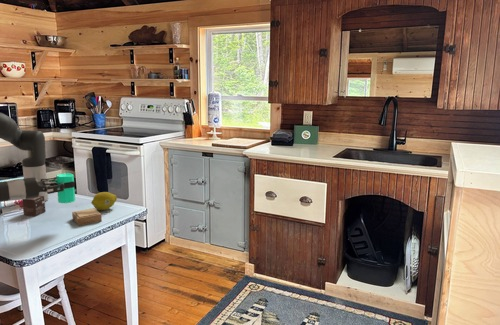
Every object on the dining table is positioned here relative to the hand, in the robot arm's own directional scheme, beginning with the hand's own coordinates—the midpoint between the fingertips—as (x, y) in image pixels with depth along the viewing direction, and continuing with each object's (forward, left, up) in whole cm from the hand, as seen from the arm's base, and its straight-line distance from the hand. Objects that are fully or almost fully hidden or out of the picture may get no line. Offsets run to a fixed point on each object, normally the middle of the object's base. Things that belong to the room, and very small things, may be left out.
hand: (72, 182), depth 148 cm
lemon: (-12, +15, -18) cm, 26 cm away
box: (-23, -11, -18) cm, 31 cm away
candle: (0, -3, -7) cm, 8 cm away
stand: (-3, +5, -18) cm, 18 cm away
